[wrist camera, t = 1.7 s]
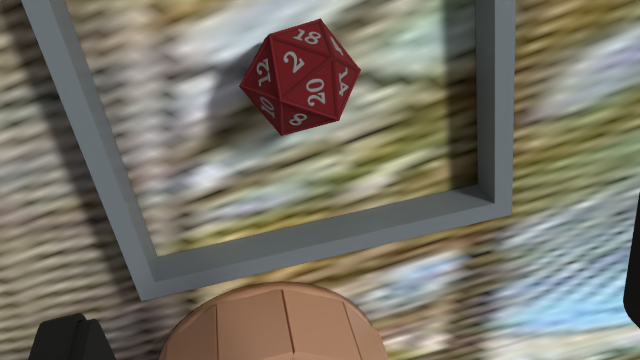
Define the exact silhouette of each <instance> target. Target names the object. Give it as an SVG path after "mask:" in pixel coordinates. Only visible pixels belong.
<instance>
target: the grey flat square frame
mask: <svg viewBox="0 0 640 360" xmlns="http://www.w3.org/2000/svg"><path fill="white" fill-rule="evenodd" d="M21 1H22V4H23V6H24V9H25V11H26V14H27V16H28V19H29V21H30V24H31V26H32V29H33V31H34V34H35V36H36V39H37V41H38V44H39V46H40V49H41V51H42V54H43V56H44V59H45V61H46V64H47V66H48V69H49V71H50V74H51V76H52V79H53V81H54V84H55V86H56V89H57V91H58V94H59V96H60V99H61V101H62V104H63V106H64V109H65V111H66V114H67V116H68V119H69V121H70V124H71V126H72V129H73V131H74V134H75V136H76V139H77V141H78V144H79V146H80V149H81V151H82V154H83V156H84V159H85V161H86V164H87V166H88V169H89V171H90V174H91V176H92V179H93V181H94V184H95V186H96V189H97V191H98V194H99V196H100V199H101V201H102V204H103V206H104V209H105V211H106V214H107V216H108V219H109V221H110V224H111V226H112V229H113V231H114V234H115V236H116V239H117V241H118V244H119V246H120V249H121V251H122V254H123V256H124V259H125V261H126V264H127V266H128V269H129V271H130V274H131V276H132V279H133V281H134V284H135V287H136V289H137V292H138V294H139V297H140V299H141V301H145V300H150V299H154V298H158V297H162V296H167V295H171V294H175V293H179V292H184V291H188V290H192V289H197V288H201V287H205V286H209V285H214V284H218V283H222V282H226V281H231V280H235V279H239V278H243V277H248V276H252V275H256V274H260V273H265V272H269V271H273V270H277V269H282V268H286V267H290V266H295V265H299V264H303V263H307V262H312V261H316V260H320V259H324V258H329V257H333V256H337V255H341V254H346V253H350V252H354V251H358V250H363V249H367V248H371V247H375V246H380V245H384V244H388V243H393V242H397V241H401V240H405V239H410V238H414V237H418V236H422V235H427V234H431V233H435V232H439V231H444V230H448V229H452V228H456V227H461V226H465V225H469V224H473V223H478V222H482V221H486V220H491V219H495V218H499V217H503V216H508V215H512V178H513V123H514V69H515V14H516V0H475V35H476V97H477V159H478V184H476V185H472V186H467V187H463V188H459V189H454V190H450V191H445V192H441V193H437V194H432V195H428V196H424V197H419V198H415V199H410V200H406V201H402V202H397V203H393V204H389V205H384V206H380V207H376V208H371V209H367V210H362V211H358V212H354V213H349V214H345V215H341V216H336V217H332V218H327V219H323V220H319V221H314V222H310V223H306V224H301V225H297V226H292V227H288V228H284V229H279V230H275V231H271V232H266V233H262V234H258V235H253V236H249V237H244V238H240V239H236V240H231V241H227V242H223V243H218V244H214V245H209V246H205V247H201V248H196V249H192V250H188V251H183V252H179V253H175V254H170V255H166V256H161V257H157V254H156V252H155V249H154V246H153V243H152V241H151V238H150V235H149V232H148V230H147V227H146V224H145V221H144V219H143V216H142V213H141V210H140V208H139V205H138V202H137V199H136V197H135V194H134V191H133V188H132V186H131V183H130V180H129V177H128V174H127V172H126V169H125V166H124V163H123V161H122V158H121V155H120V152H119V150H118V147H117V144H116V141H115V139H114V136H113V133H112V130H111V128H110V125H109V122H108V119H107V117H106V114H105V111H104V108H103V106H102V103H101V100H100V97H99V95H98V92H97V89H96V86H95V84H94V81H93V78H92V75H91V73H90V70H89V67H88V64H87V62H86V59H85V56H84V53H83V51H82V48H81V45H80V42H79V40H78V37H77V34H76V31H75V29H74V26H73V23H72V20H71V17H70V15H69V12H68V9H67V6H66V4H65V1H64V0H21Z"/></svg>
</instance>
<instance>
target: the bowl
mask: <svg viewBox="0 0 640 360" xmlns="http://www.w3.org/2000/svg"><path fill="white" fill-rule="evenodd" d="M158 360H389V358H388V355H387V353H386V350H385V347H384V345H383V342H382V340H381V337H380V334H379V333H378V332H377V331H376V330H375V329H374V328H373V326H372V324H371V323H370V321H369V320H368V318H367V317H366V315H365V314H364V313H363V312H362V311H361V310H360V309H359V308H358V307H357V306H356V305H355V304H354V303H352V302H351V301H350V300H348V299H347V298H345V297H343V296H342V295H340V294H338V293H336V292H333V291H331V290H328V289H326V288H323V287H319V286H316V285H312V284H306V283H299V282H267V283H260V284H254V285H249V286H245V287H241V288H238V289H235V290H231V291H229V292H226V293H224V294H222V295H219V296H217V297H215V298H213V299H211V300H209V301H208V302H206V303H204V304H202V305H201V306H200V307H198V308H197V309H195V310H194V311H192V312H191V313H190V314H189V315H188V316H187V317H185V318H184V319H183V320H182V321H181V322H180V323H179V324H178V325H177V327H176V328H175V329H174V330H173V331H172V332H171V334H170V335H169V337H168V339H167V340H166V342H165V343H164V345H163V348H162V350H161V352H160V355H159V359H158Z"/></svg>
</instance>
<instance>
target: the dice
mask: <svg viewBox="0 0 640 360" xmlns="http://www.w3.org/2000/svg"><path fill="white" fill-rule="evenodd" d="M360 71H361V69H360V68H359V67H358V66H357V65H356V64H355V62H354V61H353V60H352V58H351V57H350V56H349V55H348V53H347V52H346V51H345V50H344V48H343V47H342V46H341V44H340V43H339V42H338V41H337V39H336V38H335V37H334V35H333V34H332V33H331V32H330V30H329V29H328V28H327V26H326V25H325V24H324V23H323V21H322V20H321V19H318V20H315V21H311V22H308V23H305V24H301V25H298V26H295V27H291V28H288V29H285V30H282V31H278V32H275V33H271V34H269V35H268V36H267V37H266V38H265V39H264V41H263V43H262V45H261V47H260V49H259V51H258V53H257V55H256V56H255V58H254V60H253V62H252V64H251V66H250V68H249V69H248V71H247V73H246V75H245V77H244V79H243V81H242V82H241V84H240V86H239V87H240V88H241V89H242V90H243V91H244V92H245V93H246V95H247V96H248V97H249V98H250V99H251V101H252V102H253V103H254V104H255V105H256V106H257V108H258V109H259V110H260V111H261V112H262V113H263V115H264V116H265V117H266V118H267V119H268V121H269V122H270V123H271V124H272V125H273V126H274V128H275V129H276V130H277V131H278V132H279V134H280V135H281V136H283V135H287V134H290V133H294V132H298V131H302V130H305V129H309V128H313V127H317V126H321V125H324V124H328V123H332V122H336V121H339V120H340V117H341V115H342V112H343V110H344V108H345V105H346V103H347V101H348V98H349V96H350V94H351V91H352V89H353V87H354V84H355V82H356V80H357V77H358V75H359V73H360Z"/></svg>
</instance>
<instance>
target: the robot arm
mask: <svg viewBox="0 0 640 360" xmlns="http://www.w3.org/2000/svg"><path fill="white" fill-rule="evenodd" d="M623 303H624V308H625V310H626V313H627V314H628V316H629V317H630V319H631V320H632V321H633V322H634V323H635V324H636V325H637V326H638V327H639V328H640V193H639V200H638V206H637V213H636V219H635V225H634V232H633V238H632V245H631V251H630V258H629V264H628V271H627V277H626V284H625V290H624V297H623ZM28 360H116V358H115V356H114V354H113V351H112V349H111V347H110V345H109V343H108V341H107V339H106V336H105V334H104V332H103V330H102V328H101V326H100V324H99V322H98V321H97V320H96V319H91V320H86V318H85V316H83V315H82V314H81V313H77V314H73V315H69V316H65V317H60V318H56V319H52V320H48V321H44V322H42V323H41V324H40V326H39V328H38V330H37V334H36V337H35V340H34V343H33V346H32V349H31V352H30V355H29V359H28Z"/></svg>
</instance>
